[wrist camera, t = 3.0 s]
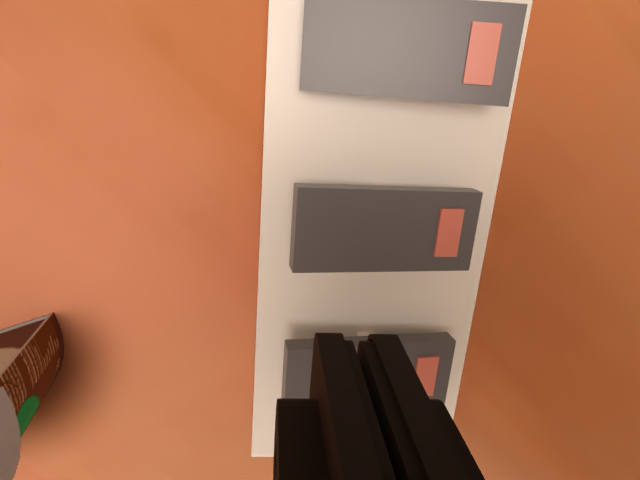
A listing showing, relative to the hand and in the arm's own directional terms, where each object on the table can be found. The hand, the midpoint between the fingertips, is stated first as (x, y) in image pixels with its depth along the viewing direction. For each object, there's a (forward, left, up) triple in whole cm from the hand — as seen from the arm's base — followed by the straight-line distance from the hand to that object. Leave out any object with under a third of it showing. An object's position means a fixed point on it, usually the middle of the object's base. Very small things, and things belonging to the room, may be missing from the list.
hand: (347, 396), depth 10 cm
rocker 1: (-4, -8, -13) cm, 16 cm away
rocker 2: (-4, 0, -13) cm, 14 cm away
